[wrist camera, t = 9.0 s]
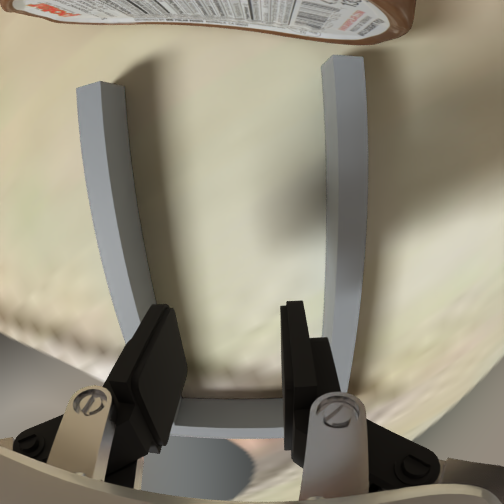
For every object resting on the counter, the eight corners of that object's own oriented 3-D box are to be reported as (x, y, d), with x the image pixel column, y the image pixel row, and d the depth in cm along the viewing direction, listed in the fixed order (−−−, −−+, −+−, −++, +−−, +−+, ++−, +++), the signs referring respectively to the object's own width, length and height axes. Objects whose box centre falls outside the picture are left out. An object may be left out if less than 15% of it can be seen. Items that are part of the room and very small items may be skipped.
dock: (169, 407, 20) (161, 434, 18) (102, 91, 13) (76, 88, 10) (332, 405, 20) (338, 433, 17) (347, 67, 12) (363, 56, 10)
